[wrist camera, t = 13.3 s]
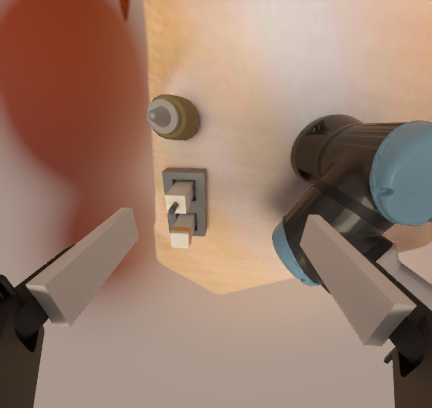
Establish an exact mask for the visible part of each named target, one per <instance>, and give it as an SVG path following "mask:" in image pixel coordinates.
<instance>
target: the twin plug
mask: <svg viewBox="0 0 432 408" xmlns="http://www.w3.org/2000/svg"><path fill="white" fill-rule="evenodd" d="M194 194H195V188H194V180H181V179H178V180H177V182H176V183H175V184H174V185H173V186H172V187H171V188H170V190H169V191H168V192H167V193H166V194H165V201H166V209H167V213H169V214H171V215H172V214H174V213H180V214H186V213H187V211H188V208H189V206H190V204H191V201H192V199H193V197H194Z"/></svg>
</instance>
